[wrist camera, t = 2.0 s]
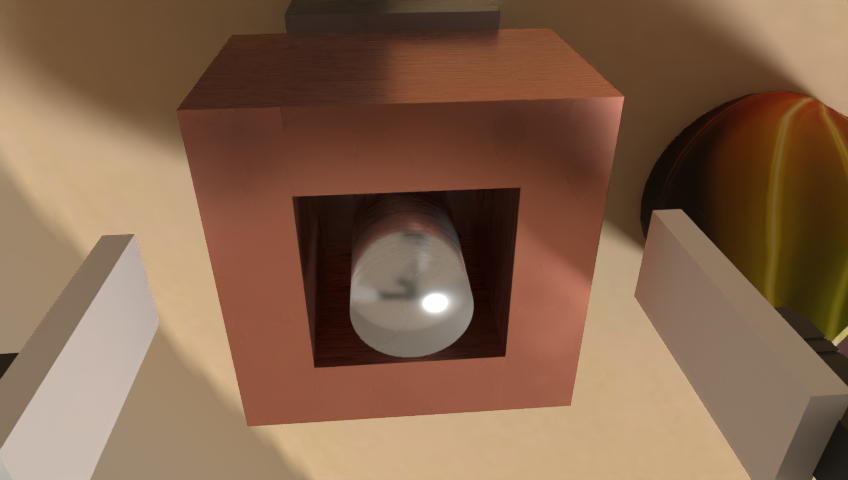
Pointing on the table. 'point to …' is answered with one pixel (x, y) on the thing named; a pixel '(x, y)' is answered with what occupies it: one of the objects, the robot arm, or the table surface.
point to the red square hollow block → (401, 172)
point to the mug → (768, 199)
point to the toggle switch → (401, 203)
